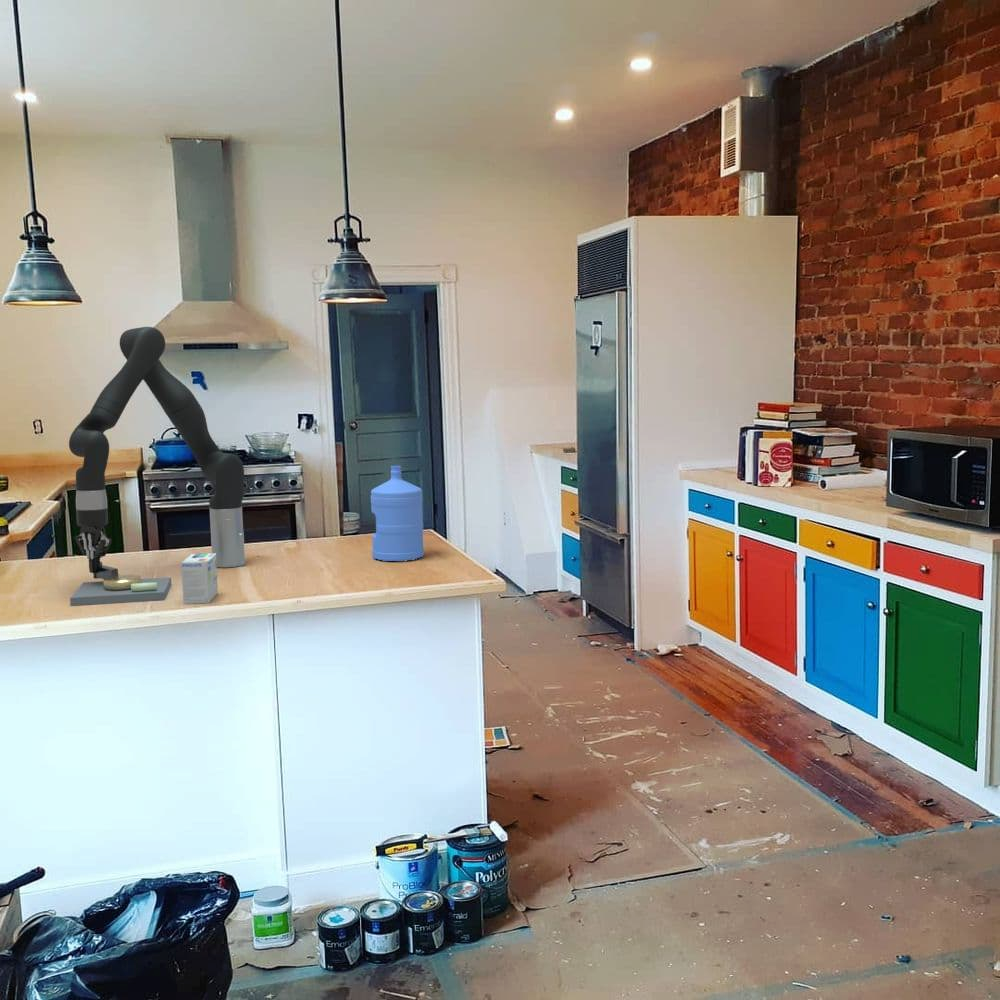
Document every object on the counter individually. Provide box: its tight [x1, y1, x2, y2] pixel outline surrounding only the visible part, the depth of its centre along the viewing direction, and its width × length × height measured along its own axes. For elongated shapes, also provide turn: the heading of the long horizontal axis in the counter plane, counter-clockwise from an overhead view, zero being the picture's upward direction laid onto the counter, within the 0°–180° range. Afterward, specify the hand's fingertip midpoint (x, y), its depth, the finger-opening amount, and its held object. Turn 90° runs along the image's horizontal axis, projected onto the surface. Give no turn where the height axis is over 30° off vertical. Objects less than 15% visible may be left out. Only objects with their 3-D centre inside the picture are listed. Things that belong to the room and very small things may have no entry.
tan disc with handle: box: [92, 561, 142, 590], centre depth 252 cm, size 18×9×5 cm, turn 51°
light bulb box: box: [180, 552, 219, 605], centre depth 244 cm, size 11×7×11 cm, turn 5°
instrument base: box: [69, 576, 172, 607], centre depth 250 cm, size 22×18×4 cm
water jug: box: [370, 465, 425, 562], centre depth 293 cm, size 16×16×28 cm
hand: (94, 572), depth 254 cm, fingers closed
